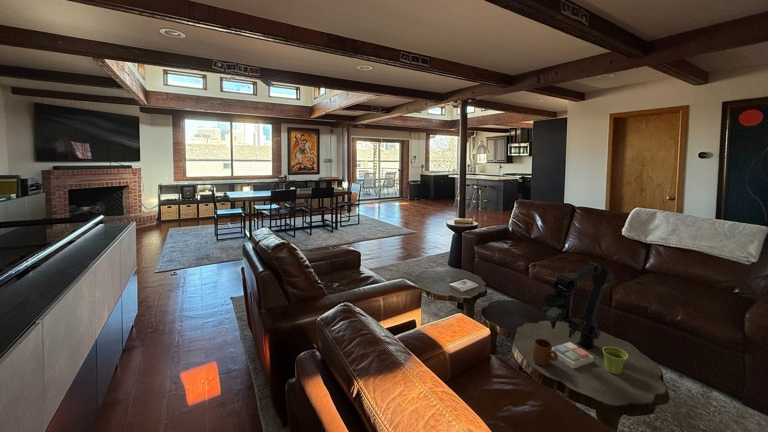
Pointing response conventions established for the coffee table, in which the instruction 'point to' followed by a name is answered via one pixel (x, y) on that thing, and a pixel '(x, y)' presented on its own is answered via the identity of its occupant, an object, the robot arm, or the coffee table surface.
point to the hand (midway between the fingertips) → (561, 333)
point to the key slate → (561, 349)
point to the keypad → (575, 363)
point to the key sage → (572, 356)
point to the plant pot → (614, 359)
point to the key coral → (581, 353)
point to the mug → (543, 352)
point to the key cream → (570, 346)
